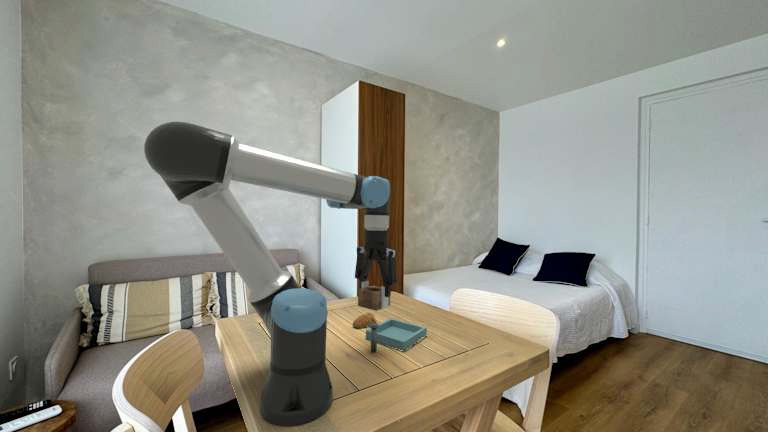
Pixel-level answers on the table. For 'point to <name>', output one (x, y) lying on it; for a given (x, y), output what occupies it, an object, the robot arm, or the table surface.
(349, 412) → the table surface
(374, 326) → the metal bolt
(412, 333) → the tray
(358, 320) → the pastry
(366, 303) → the collar
